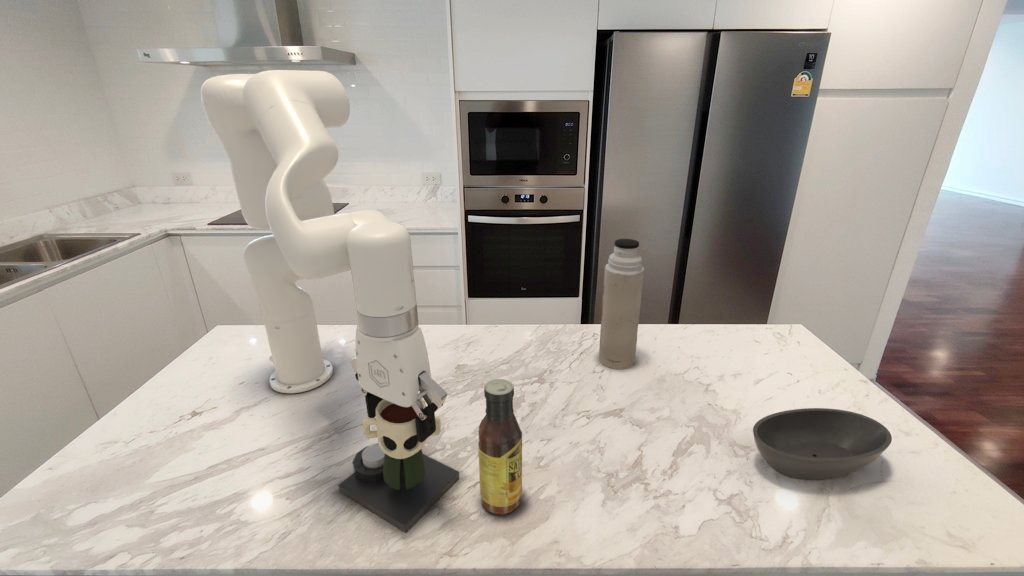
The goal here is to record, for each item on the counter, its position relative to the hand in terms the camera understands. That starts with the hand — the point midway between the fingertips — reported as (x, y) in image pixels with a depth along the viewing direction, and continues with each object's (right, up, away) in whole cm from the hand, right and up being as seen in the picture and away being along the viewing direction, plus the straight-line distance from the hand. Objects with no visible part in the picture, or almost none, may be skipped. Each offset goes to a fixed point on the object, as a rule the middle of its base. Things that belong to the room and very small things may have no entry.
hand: (401, 424), depth 69 cm
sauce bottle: (+14, -12, +3) cm, 19 cm away
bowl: (+65, -9, +9) cm, 66 cm away
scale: (-2, -11, +6) cm, 13 cm away
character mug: (0, -9, +4) cm, 10 cm away
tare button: (-6, -8, +7) cm, 12 cm away
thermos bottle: (+40, +3, +39) cm, 56 cm away
